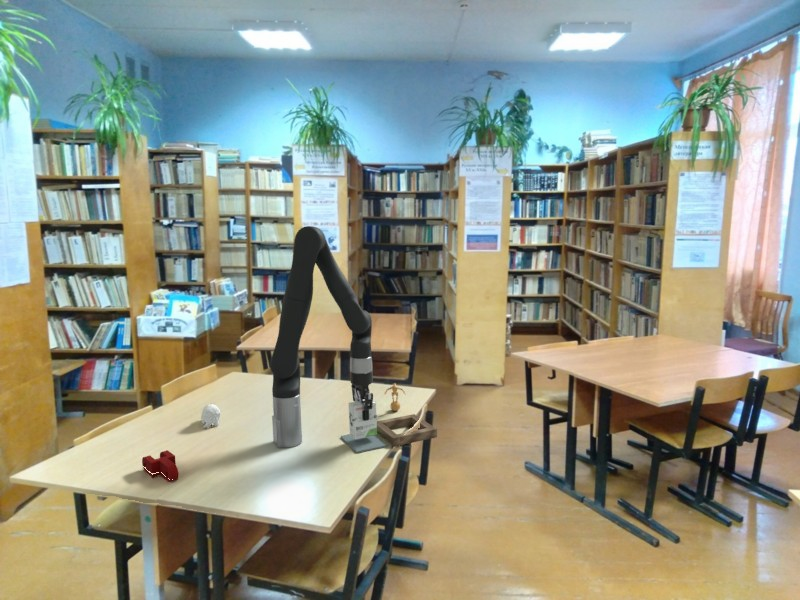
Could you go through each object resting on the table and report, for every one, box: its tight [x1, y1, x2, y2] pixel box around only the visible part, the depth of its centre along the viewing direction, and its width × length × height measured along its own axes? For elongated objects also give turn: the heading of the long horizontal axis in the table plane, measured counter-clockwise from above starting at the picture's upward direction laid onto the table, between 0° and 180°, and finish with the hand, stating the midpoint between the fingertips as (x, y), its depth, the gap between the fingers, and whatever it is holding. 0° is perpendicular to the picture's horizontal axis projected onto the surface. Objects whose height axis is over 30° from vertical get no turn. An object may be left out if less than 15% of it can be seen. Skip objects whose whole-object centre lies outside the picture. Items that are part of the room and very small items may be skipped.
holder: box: [377, 413, 438, 447], centre depth 194 cm, size 17×17×3 cm
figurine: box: [384, 382, 406, 412], centre depth 216 cm, size 8×6×12 cm
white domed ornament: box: [200, 403, 221, 429], centre depth 206 cm, size 6×8×12 cm
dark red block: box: [141, 450, 179, 483], centre depth 165 cm, size 16×7×5 cm, turn 44°
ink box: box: [348, 399, 378, 439], centre depth 186 cm, size 9×5×12 cm, turn 116°
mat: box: [340, 433, 388, 454], centre depth 187 cm, size 11×15×1 cm
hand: (362, 417), depth 186 cm, fingers closed on ink box, 5 cm apart
